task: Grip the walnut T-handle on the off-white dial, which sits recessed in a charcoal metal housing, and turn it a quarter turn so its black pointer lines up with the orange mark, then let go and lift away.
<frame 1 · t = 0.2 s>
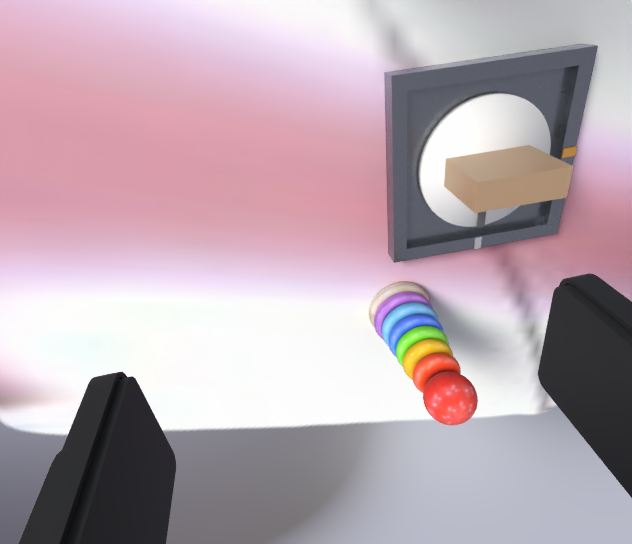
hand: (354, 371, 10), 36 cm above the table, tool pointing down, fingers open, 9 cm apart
stacking toy: (396, 303, 56), on the table
dial: (501, 175, 42), point 5 cm above the table, hinge at 0.0°
dial housing: (475, 159, 47), on the table
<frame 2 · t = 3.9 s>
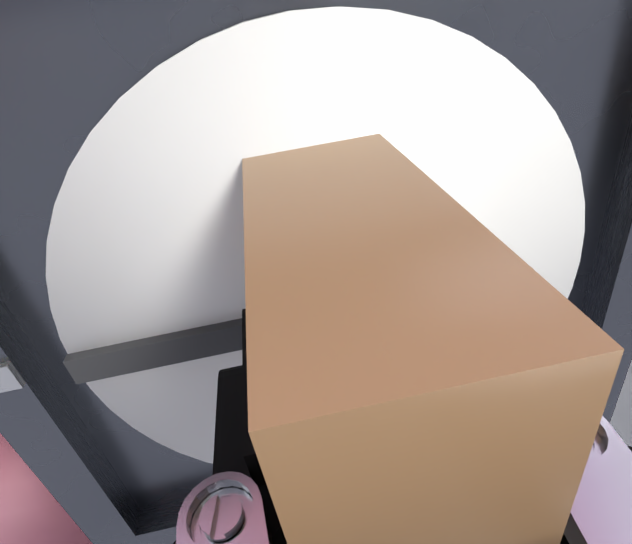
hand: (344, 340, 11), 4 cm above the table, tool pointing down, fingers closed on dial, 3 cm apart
dial: (362, 395, 9), point 5 cm above the table, hinge at 0.0°, touching gripper
dial housing: (321, 266, 14), on the table
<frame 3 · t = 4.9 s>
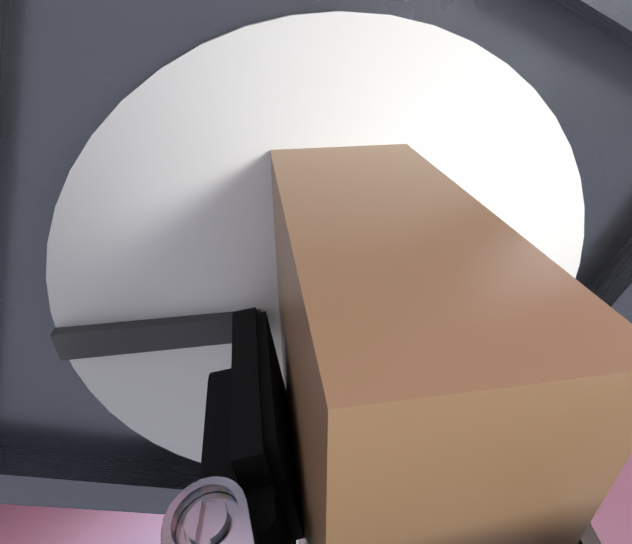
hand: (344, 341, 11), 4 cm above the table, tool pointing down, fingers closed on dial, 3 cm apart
dial: (362, 398, 9), point 5 cm above the table, hinge at 22.0°, touching gripper
dial housing: (320, 268, 14), on the table
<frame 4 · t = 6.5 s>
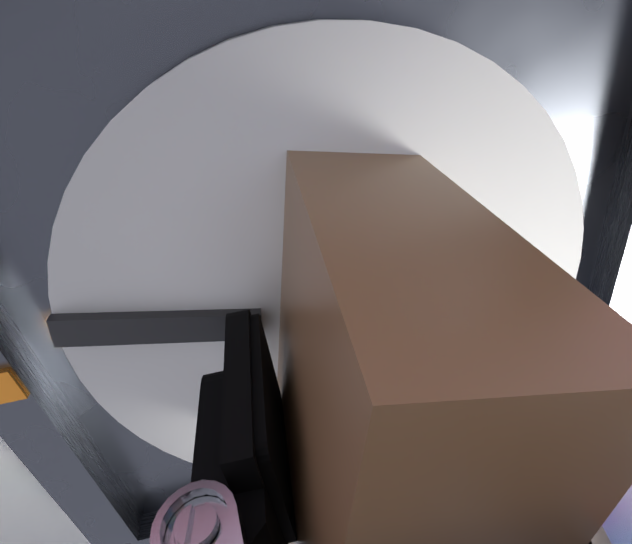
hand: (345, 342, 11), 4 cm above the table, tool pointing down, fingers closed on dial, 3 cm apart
dial: (361, 403, 9), point 5 cm above the table, hinge at 77.2°, touching gripper
dial housing: (320, 272, 14), on the table
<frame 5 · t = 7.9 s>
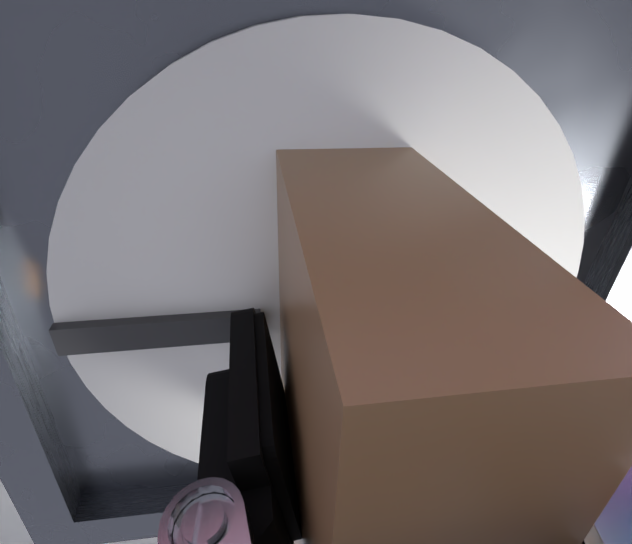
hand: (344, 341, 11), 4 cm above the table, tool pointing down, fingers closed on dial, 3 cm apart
dial: (362, 400, 9), point 5 cm above the table, hinge at 91.7°, touching gripper
dial housing: (321, 270, 14), on the table
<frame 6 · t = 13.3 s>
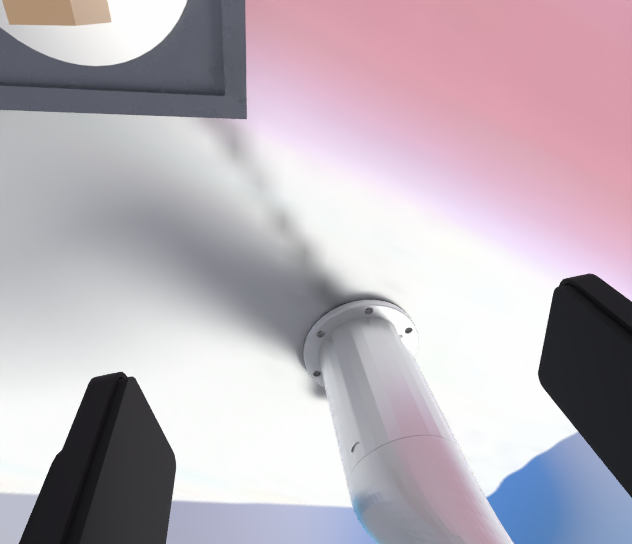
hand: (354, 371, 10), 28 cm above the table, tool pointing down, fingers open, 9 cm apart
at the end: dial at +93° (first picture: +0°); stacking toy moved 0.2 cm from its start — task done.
